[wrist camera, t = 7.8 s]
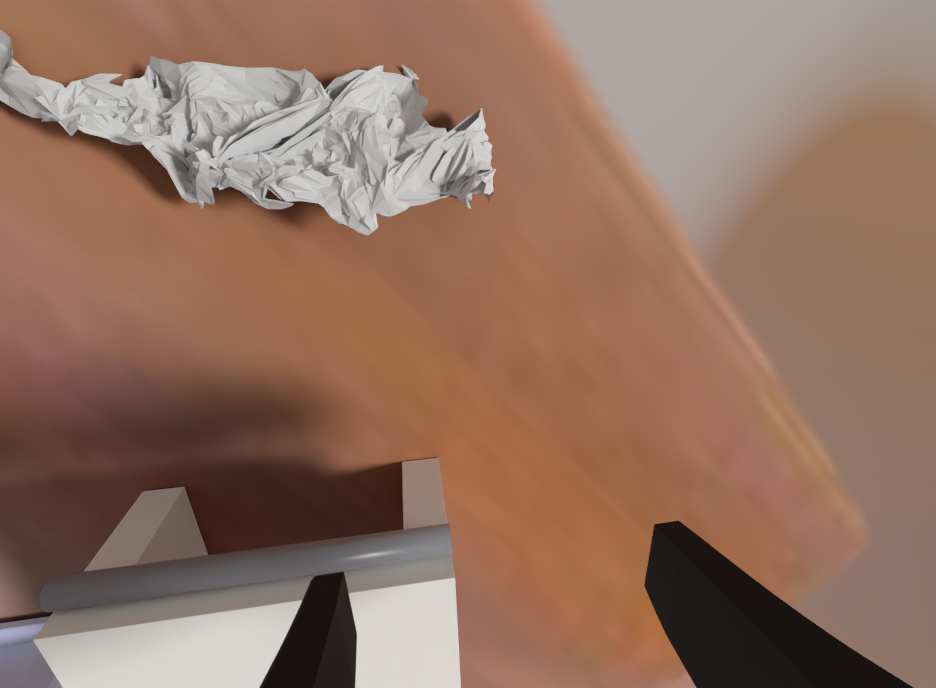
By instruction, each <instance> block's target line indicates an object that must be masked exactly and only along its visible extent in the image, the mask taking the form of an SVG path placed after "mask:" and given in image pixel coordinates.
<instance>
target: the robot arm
mask: <svg viewBox="0 0 936 688" xmlns="http://www.w3.org/2000/svg"><path fill="white" fill-rule="evenodd" d="M644 586H645V588H646V590H647V593H648V595H649V597H650V600H651V602H652V604H653V607H654V609H655V611H656V614H657V616H658V618H659V620H660V622H661V625H662V627H663V629H664V631H665V633H666V635H667V637H668V638H669V640H670V642H671V644H672V646H673V647H674V649H675V651H676V653H677V654H678V656H679V658H680V660H681V661H682V663H683V665H684V667H685V668H686V670H687V672H688V674H689V675H690V677H691V679H692V680H693V682H694V684H695V686H696V687H697V688H913V687H912V686H910V685H908V684H907V683H905V682H903V681H902V680H900V679H899V678H897V677H895V676H894V675H892V674H891V673H889V672H887V671H886V670H884V669H882V668H881V667H879V666H878V665H876V664H875V663H873V662H872V661H870V660H868V659H867V658H865V657H863V656H862V655H860V654H859V653H857V652H856V651H854V650H853V649H851V648H849V647H848V646H847V645H845V644H844V643H842V642H841V641H839V640H838V639H836V638H835V637H833V636H832V635H830V634H829V633H827V632H826V631H825V630H823V629H822V628H820V627H819V626H817V625H816V624H815V623H813V622H811V621H810V620H809V619H807V618H806V617H804V616H803V615H802V614H800V613H799V612H797V611H796V610H795V609H793V608H792V607H791V606H789V605H788V604H786V603H785V602H784V601H782V600H781V599H780V598H778V597H777V596H775V595H774V594H773V593H771V592H770V591H769V590H767V589H766V588H765V587H763V586H762V585H761V584H759V583H758V582H757V581H755V580H754V579H753V578H752V577H750V576H749V575H748V574H746V573H745V572H744V571H742V570H741V569H740V568H739V567H737V566H736V565H735V564H733V563H732V562H731V561H730V560H728V559H727V558H726V557H724V556H723V555H722V554H721V553H719V552H718V551H717V550H716V549H714V548H713V547H712V546H710V545H709V544H708V543H707V542H705V541H704V540H703V539H702V538H700V537H699V536H698V535H696V534H695V533H694V532H693V531H691V530H690V529H689V528H687V527H686V526H685V525H683V524H682V523H681V522H680V521H674V522H667V523H661V524H655V525H654V531H653V537H652V543H651V549H650V555H649V561H648V567H647V573H646V579H645V585H644ZM49 617H50V616H49ZM49 617H42V618H35V619H28V620H21V621H13V622H6V623H0V688H63V687H62V686H61V684H60V682H59V681H58V679H57V678H56V676H55V674H54V673H53V671H52V670H51V668H50V666H49V665H48V663H47V662H46V660H45V658H44V657H43V655H42V654H41V652H40V650H39V649H38V647H37V646H36V644H35V642H34V641H33V639H34V638H35V636H36V635H37V634H38V632H39V631H40V630H41V628H42V627H43V625H44V624H45V623H46V621H47V620H48V619H49ZM356 649H357V632H356V627H355V622H354V617H353V613H352V608H351V603H350V598H349V593H348V589H347V584H346V579H345V574H344V572H337V573H331V574H324V575H317V576H315V577H314V578H313V579H312V580H311V581H310V584H309V586H308V589H307V591H306V593H305V596H304V598H303V600H302V603H301V605H300V607H299V609H298V611H297V614H296V616H295V618H294V620H293V622H292V624H291V626H290V629H289V631H288V633H287V635H286V637H285V639H284V641H283V643H282V645H281V647H280V649H279V651H278V653H277V655H276V657H275V659H274V661H273V662H272V664H271V666H270V668H269V670H268V672H267V674H266V676H265V678H264V680H263V682H262V684H261V686H260V687H259V688H355V678H356Z"/></svg>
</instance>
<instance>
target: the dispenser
mask: <svg viewBox="0 0 936 688" xmlns="http://www.w3.org/2000/svg"><path fill="white" fill-rule="evenodd" d="M402 482H403V529H402V530H394V531H387V532H379V533H372V534H364V535H356V536H349V537H341V538H334V539H326V540H319V541H311V542H303V543H296V544H288V545H281V546H273V547H266V548H258V549H251V550H243V551H235V552H228V553H220V554H213V555H208V553H207V550H206V547H205V544H204V541H203V538H202V536H201V533H200V530H199V527H198V524H197V521H196V518H195V516H194V513H193V510H192V507H191V504H190V501H189V498H188V496H187V493H186V490H185V487H177V488H168V489H159V490H150V491H143V492H142V493H141V495H140V496H139V497H138V499H137V500H136V501H135V503H134V504H133V505H132V507H131V508H130V509H129V511H128V512H127V514H126V515H125V516H124V518H123V519H122V520H121V522H120V523H119V524H118V526H117V527H116V528H115V530H114V531H113V532H112V534H111V535H110V536H109V538H108V539H107V540H106V542H105V543H104V545H103V546H102V547H101V549H100V550H99V551H98V553H97V554H96V555H95V557H94V558H93V559H92V561H91V562H90V563H89V565H88V566H87V567H86V569H85V570H84V572H77V573H69V574H62V575H55V576H52V577H51V578H49V579H48V580H47V581H46V582H45V584H44V585H43V587H42V589H41V592H40V596H39V605H40V608H41V610H42V611H44V612H53V613H52V615H51V616H50V617H49V619H48V620H47V621H46V623H45V624H44V625H43V627H42V628H41V630H40V631H39V632H38V634H37V635H36V636H35V638H34V639H33V641H34V642H35V644H36V646H37V647H38V649H39V650H40V652H41V654H42V655H43V657H44V658H45V660H46V662H47V663H48V665H49V666H50V668H51V670H52V671H53V673H54V674H55V676H56V678H57V679H58V681H59V682H60V684H61V686H62V687H63V688H259V687H260V686H261V684H262V682H263V680H264V678H265V676H266V674H267V672H268V670H269V668H270V666H271V664H272V662H273V661H274V659H275V657H276V655H277V653H278V651H279V649H280V647H281V645H282V643H283V641H284V639H285V637H286V635H287V633H288V631H289V629H290V626H291V624H292V622H293V620H294V618H295V616H296V614H297V611H298V609H299V607H300V605H301V603H302V600H303V598H304V596H305V593H306V591H307V589H308V586H309V584H310V581H311V580H312V579H313V578H314V577H315V576H317V575H324V574H331V573H337V572H344V574H345V579H346V584H347V589H348V593H349V598H350V603H351V608H352V613H353V617H354V622H355V627H356V632H357V649H356V678H355V688H461V681H460V663H459V644H458V625H457V607H456V588H455V575H454V567H453V560H452V543H451V533H450V526H449V523H447V517H446V510H445V503H444V495H443V488H442V481H441V474H440V467H439V459H438V458H431V459H422V460H414V461H405V462H402Z"/></svg>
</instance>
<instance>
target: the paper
mask: <svg viewBox="0 0 936 688" xmlns="http://www.w3.org/2000/svg"><path fill="white" fill-rule="evenodd" d="M12 55H13V49H12V41H11V38H10V37H9V36H8V35H7V34H6V33H4V32H3V31H2V30H1V29H0V100H1V101H2V102H4V103H5V104H7V105H9V106H10V107H12V108H14V109H16V110H17V111H19V112H21V113H23V114H25V115H28V116H30V117H33V118H43V119H42V121H57V122H59V123H60V124H61V125H62V126H63V128H64V129H65V130H66V131H67V132H68V133H69V134H70V135H71V136H72V135H73V134H74V133H75V132H76V131H77V129H78V130H80V131H82V132H84V133H87V134H91V135H95V136H99V137H103V138H107V139H109V140H110V141H112V142H114V143H119V144H123V145H129V146H131V145H144V146H145V147H146V148H147V149H148V150H149V151H150V152H151V154H152V155H153V156H154V157H155V158H156V159H157V160H158V161H159V162H160V163H161V164H162V166H163V167H164V168H166V169H167V171H168V173H169V175H170V176H171V178H172V180H173V182H174V184H175V186H176V188H177V190H178V191H179V193H180V195H181V197H182V198H183V199H184V200H186V201H187V202H189V203H193V202H197V203H198V204H199V205H200V207H201V209H203V208H204V206H202V205H204V202H206V203H208V204H215V201H214V196H213V192H212V188H215V187H218V188H219V190H222V189H224V188H227V187H233V188H235V189H237V190H239V191H241V192H243V193H244V194H245V195H246V196H247V197H248V198H249V199H251V200H252V201H253V202H254V203H255V204H257V205H260V206H262V207H264V208H266V209H284V208H287V207H290V206H292V205H293V204H294V203H290V202H289V201H304V202H311V203H318V204H320V205H321V206H322V207H323V208H324V209H325V210H326V211H327V213H328V214H329V216H330V217H331V218H332V219H334V220H335V221H337V222H338V223H339V224H344V225H347V226H349V227H351V228H353V229H355V230H356V231H357V232H360V233H362V234H365V235H367V236H368V235H369V234H370V233H372V232H373V231H374V230H376V229H377V228H378V224H377V218H376V213H379V214H381V215H383V216H394V215H396V214H398V213H400V212H403V211H405V210H406V209H407V208H409V207H410V206H416V205H422V204H426V203H429V202H432V201H434V200H437V199H440V198H445V197H448V196H450V195H452V196H455V197H457V199H458V200H459V201H460V202H462V203H464V204H465V205H466V206H467V207H468V208H471V206H470V204H469V202H468V201H469V200H472V193H475V194H482V195H485V196H487V198H488V202H489V200H490V197H491V195H492V193H493V175H494V173H495V170H496V169H494V170H492V169H493V168H492V167H491V166H490V162H491V158H492V157H491V149H492V145H491V144H490V143H489V142H488V136H487V135H486V133H485V132H484V129H485V127H486V125H485V122H484V119H483V114H482V112H483V111H482V108H481V109H479V110H478V111H476V112H475V113H473V114H472V115H470V116H469V117H468V118H466V119H465V120H464V121H462V122H461V123H460V124H458V125H457V126H456V127H455V128H453V129H452V130H450V131H446V128H435V127H432V126H430V125H429V124H428V123H427V121H426V120H425V119H424V118H423V117H422V112H423V111H424V109H425V107H426V105H427V103H428V102H429V101H428V100H427V98H426V97H423V96H420V95H418V93H419V88H418V85H417V83H416V81H415V79H419V78H418V77H417V76H416V75H415V74H414V73H413V71H412V70H410V69H408V68H407V67H405V66H404V65H402V64H401V67H402V72H403V74H404V76H403V75H399V74H396V73H387V72H383V65H382V66H377V67H375V68H373V69H371V70H369V71H365V70H354V71H352V72H349V73H347V74H345V75H342V76H340V77H337V78H335V79H334V80H333V81H332V82H331V83H330V85H329V86H328V87H327V88H326V89H324V88H323V86H322V85H321V83H320V81H318V80H316V79H315V77H314V76H313V75H312V73H310V72H308V71H307V70H306V69H303V70H301V71H291V72H290V71H286V70H282V69H277V68H242V67H232V66H224V65H219V64H214V63H205V62H195V61H192V62H188V63H184V64H180V65H177V64H175V63H173V62H172V61H170V60H164V59H158V58H156V57H154V56H152V55H151V59H150V63H149V65H148V66H147V68H146V71H145V74H144V76H143V77H141V78H139V79H138V78H135V79H128V80H124V82H123V84H122V85H121V86H118V85H114V84H110V81H111V80H113V79H115V78H117V77H119V76H120V75H122V74H96V75H94V76H91V77H88V78H85V79H80V80H77V81H72V82H71V83H70V84H69V85H68V86H67V87H66V88H65V87H64V86H63V85H62V84H60V83H57V82H54V81H51V80H48V79H45V78H42V77H38V76H33V75H30V73H29V72H27V71H26V70H25V69H24V68H23V67H22V66H21V65H19V64H18V63H17V62H16V61H15V60H14V59H13V58H12ZM268 189H269V190H270V191H271V192H273V193H274V194H275V195H276V196H277V197H278V198H279V199H280V200H282V201H278V200H272V199H267V198H265V195H266V193H267V191H268ZM284 201H286V202H284ZM487 204H488V203H487Z"/></svg>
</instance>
